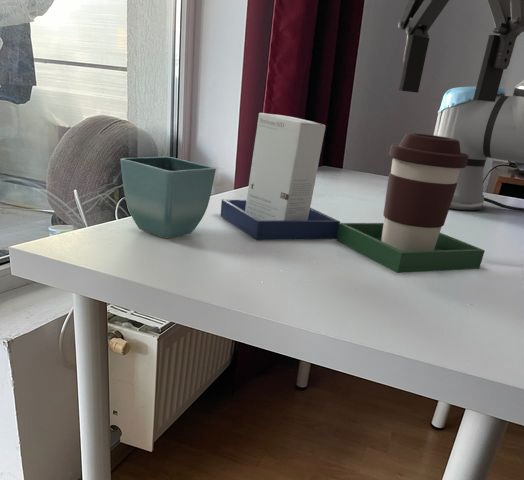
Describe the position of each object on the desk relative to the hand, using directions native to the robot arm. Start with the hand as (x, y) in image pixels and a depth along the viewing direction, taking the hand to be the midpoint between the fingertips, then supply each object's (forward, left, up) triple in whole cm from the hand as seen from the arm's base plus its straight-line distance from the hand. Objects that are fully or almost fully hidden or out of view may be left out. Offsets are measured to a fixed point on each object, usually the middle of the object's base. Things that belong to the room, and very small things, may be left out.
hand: (443, 96), depth 69 cm
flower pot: (+31, -12, -21) cm, 39 cm away
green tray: (0, 0, -20) cm, 20 cm away
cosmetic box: (+13, -15, -20) cm, 28 cm away
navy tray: (+13, -14, -20) cm, 28 cm away
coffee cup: (0, 0, -20) cm, 20 cm away
